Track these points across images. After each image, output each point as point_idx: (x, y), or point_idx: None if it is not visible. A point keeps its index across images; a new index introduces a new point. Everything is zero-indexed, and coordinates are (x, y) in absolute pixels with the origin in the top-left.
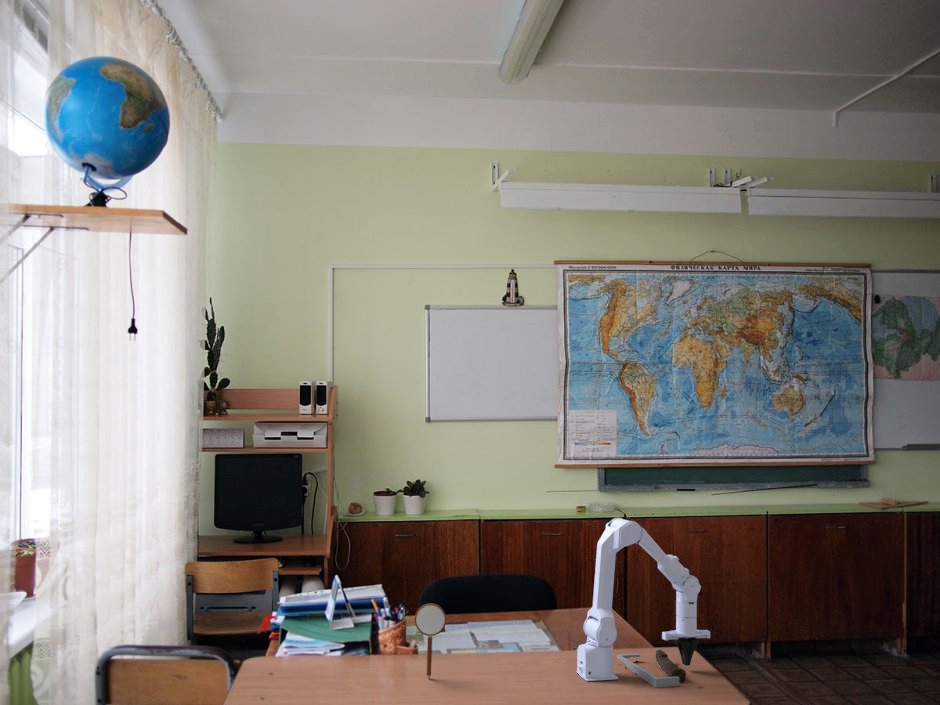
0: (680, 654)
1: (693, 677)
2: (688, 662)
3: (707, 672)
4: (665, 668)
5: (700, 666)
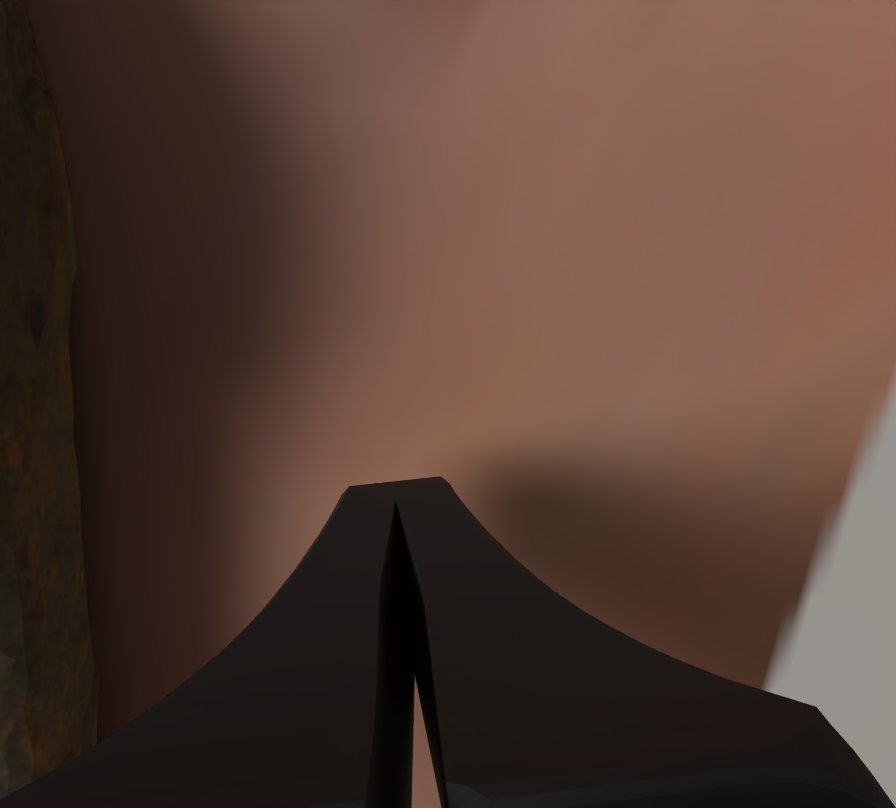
0: (291, 580)
1: None
2: (414, 664)
3: (744, 554)
4: None
5: (857, 194)
